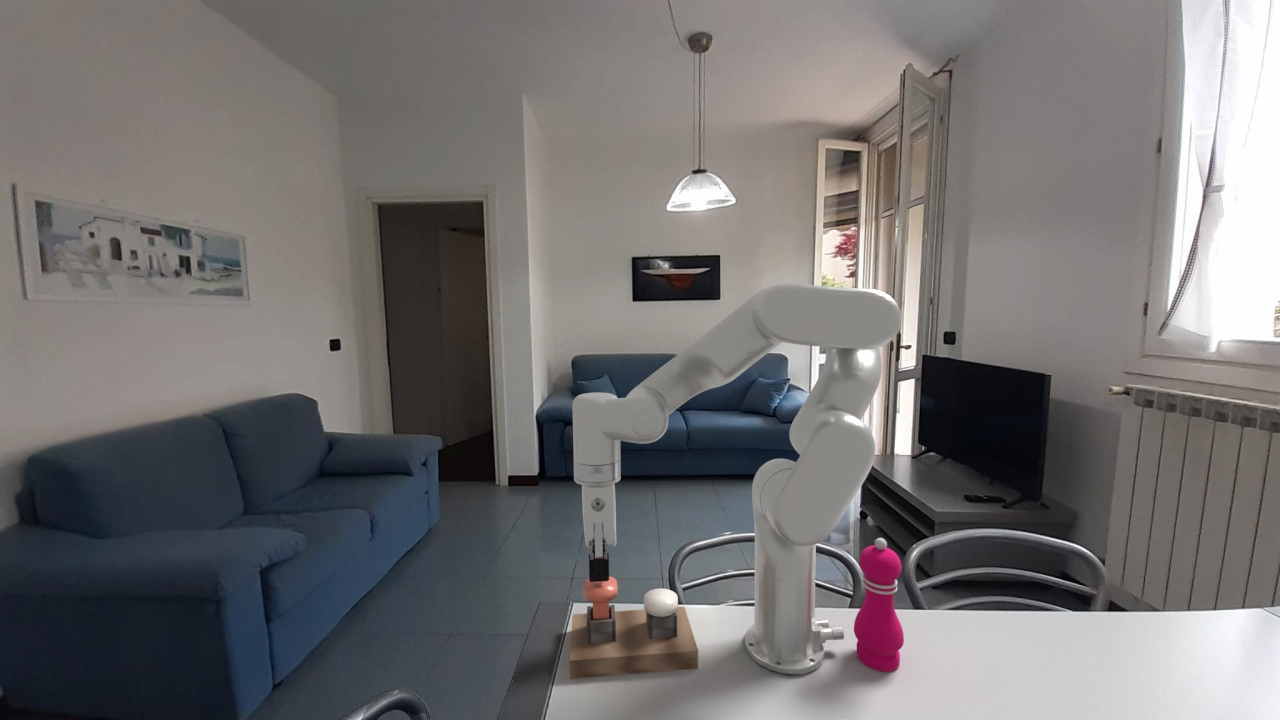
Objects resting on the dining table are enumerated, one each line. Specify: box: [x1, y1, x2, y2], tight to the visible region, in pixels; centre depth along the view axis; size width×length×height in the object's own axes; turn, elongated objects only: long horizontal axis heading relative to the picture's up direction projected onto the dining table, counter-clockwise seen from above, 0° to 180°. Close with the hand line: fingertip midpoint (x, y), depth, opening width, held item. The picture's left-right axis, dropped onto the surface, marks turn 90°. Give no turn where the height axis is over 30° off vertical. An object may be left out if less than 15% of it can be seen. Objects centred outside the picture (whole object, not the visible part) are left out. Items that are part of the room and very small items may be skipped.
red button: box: [582, 575, 619, 619], centre depth 83 cm, size 6×6×5 cm
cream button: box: [643, 588, 679, 617], centre depth 84 cm, size 6×6×5 cm
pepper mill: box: [853, 537, 905, 673], centre depth 80 cm, size 7×7×20 cm
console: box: [568, 604, 699, 680], centre depth 84 cm, size 20×12×6 cm, turn 95°
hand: (599, 578), depth 82 cm, fingers closed
